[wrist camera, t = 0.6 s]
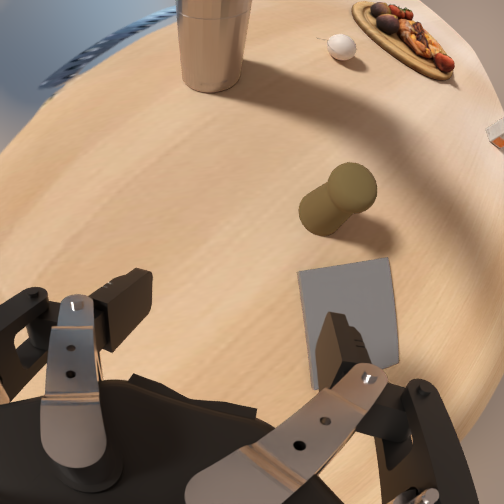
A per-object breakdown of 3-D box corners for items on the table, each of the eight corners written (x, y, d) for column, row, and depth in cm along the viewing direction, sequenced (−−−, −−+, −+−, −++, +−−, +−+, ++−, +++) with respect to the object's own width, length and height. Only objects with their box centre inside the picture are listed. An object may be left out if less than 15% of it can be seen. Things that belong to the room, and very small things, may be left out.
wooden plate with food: (465, 88, 48) (481, 74, 40) (395, 75, 43) (414, 52, 35) (407, 17, 51) (418, 2, 43) (329, -2, 46) (338, -23, 38)
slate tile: (296, 272, 33) (299, 271, 32) (384, 258, 35) (388, 257, 34) (311, 387, 31) (314, 390, 30) (394, 361, 33) (398, 362, 32)
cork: (346, 203, 36) (390, 171, 25) (334, 243, 34) (380, 222, 24) (306, 184, 35) (339, 143, 24) (292, 224, 34) (324, 194, 23)
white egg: (351, 56, 41) (362, 37, 36) (347, 69, 40) (359, 50, 35) (316, 40, 41) (324, 20, 35) (309, 53, 40) (318, 32, 34)
